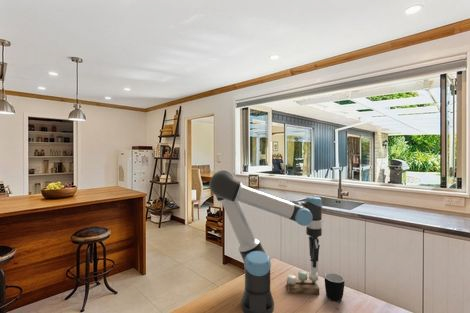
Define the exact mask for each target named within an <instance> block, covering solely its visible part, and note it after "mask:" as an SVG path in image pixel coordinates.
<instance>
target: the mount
mask: <svg viewBox="0 0 470 313" xmlns="http://www.w3.org/2000/svg"><path fill="white" fill-rule="evenodd" d="M287 280H288V278H287V279H286V287H287V290H288V293H289V294H301V295H302V294H303V295H304V294H306V295H320V287H319V285H318V283H317V282H318V281H315V284H312V280H310V279H307V280H305V281H304V284H302V283H301V280H299V279H297V278H296V284H295V285H290V284H288V282H287Z"/></svg>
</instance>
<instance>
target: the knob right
mask: <svg viewBox="0 0 470 313" xmlns="http://www.w3.org/2000/svg"><path fill="white" fill-rule="evenodd" d="M308 280H312V284H315V281H316V282H318V280H319V273H318V272H317V273H311V270H309V272H308Z"/></svg>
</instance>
